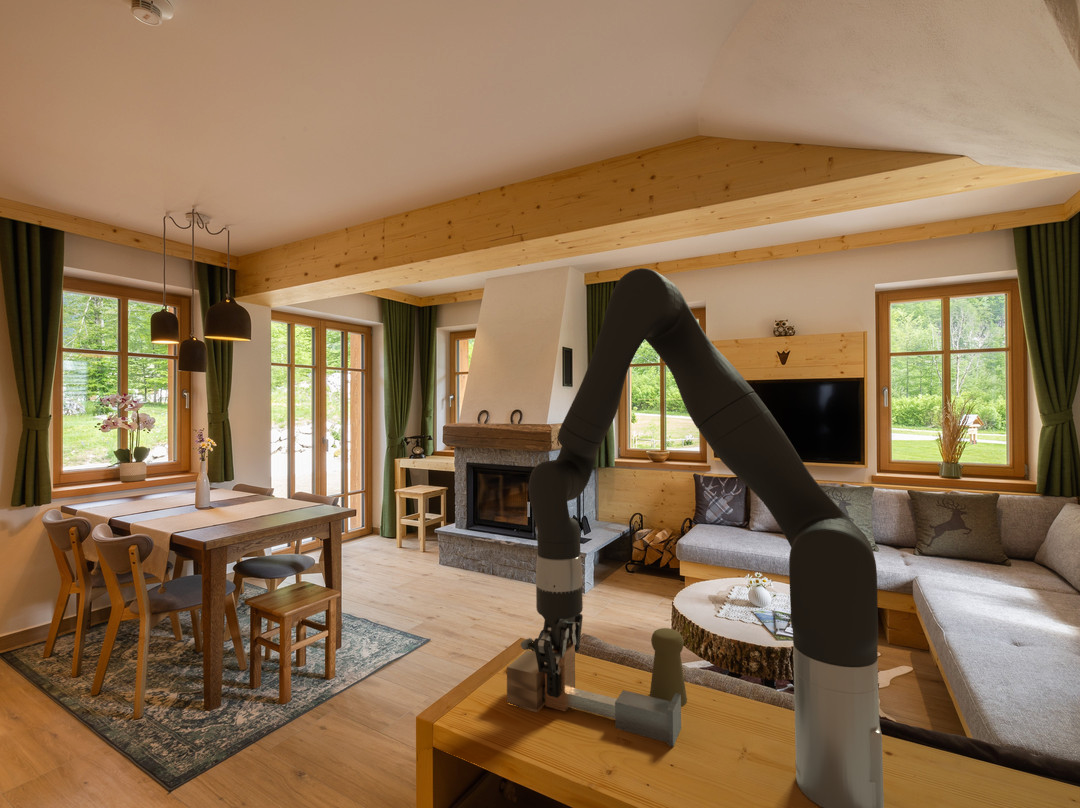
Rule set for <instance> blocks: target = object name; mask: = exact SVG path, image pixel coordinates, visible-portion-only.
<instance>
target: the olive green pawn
mask: <svg viewBox="0 0 1080 808" xmlns="http://www.w3.org/2000/svg"><path fill="white" fill-rule="evenodd" d="M650 641H651V646H652V648H653V651H654V656H653V665H652V673H651V681H650V682H651V683H650V691H649V696H650V697H654V698H658V699H662V700H667V701H672V699H673V697H674V695H675V693H677V694H681V708H682V707H684V706H685V705H686V704H687V703H688V696H687V689H686V683H685V677H684V670H683V663H682V657H681V653H682V651H683V649H684V638H683V636H682V635H681V633H680V632H679V631H678V630H675V629H673V628H666V627H664V628H658V629H655V630H654V632H653V633H652V634H651V640H650Z"/></svg>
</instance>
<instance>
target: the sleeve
mask: <svg viewBox="0 0 1080 808" xmlns="http://www.w3.org/2000/svg"><path fill="white" fill-rule="evenodd" d="M618 695H619V696H618V697H617V698H616V699H617V700H616V701H615V719H614V721H615V723H614V724H615V727H614V728H615V729H617V730H621V731H624V732H627V733H632V734H635V735H638V736H639V735H640V736H642V737H645V738H649V739H654V740H656V741H659V742H664V743H667V746H669V747H673V748H674V747H675V744H676V741H677V739H678V737H679V734H680V732H681V730H682V707H681V694H677V693H675V695H674V697H673V699H672V701H667V700H662V699H658V698H654V697H650V695H646V694H642V693H637V692H632V691H629V690H624V689H623V690H622V691H621V693H620V694H618Z"/></svg>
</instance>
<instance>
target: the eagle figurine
mask: <svg viewBox="0 0 1080 808" xmlns="http://www.w3.org/2000/svg"><path fill="white" fill-rule="evenodd" d="M543 635H544V634H543V629H542V630H540V632H539V635H538V637H537V638H538V639H541V638H542V636H543ZM532 642H533V643H532ZM520 647H521V648H522V650H524V651H527V650H530V651H535V648H534V639H532V638H530V637H529V638H526V639H524V640H522V641H521V642H520Z"/></svg>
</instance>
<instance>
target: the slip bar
mask: <svg viewBox="0 0 1080 808" xmlns="http://www.w3.org/2000/svg"><path fill="white" fill-rule="evenodd" d="M553 651H555V652H559V651H560V649H555V648H553ZM554 660H555V665H556V658H555V657H554ZM560 673H561V695H560V696H559V697H558V698H556V697H552V696H549V695H548V694H547V674H546V673H545V684H544V685H543V686H542V690H543V700H545V704H544V706H545V707H548V708H551V709H555V710H559V711H563V712H566V711H567V709H569V708H573V709H577V710H581V711H584V712H588V713H591V714H596V715H598V716H602V717H606V718H610V719H614V720H615V701H616V700H617V698H616V697H611V696H607V695H604V694H599V693H595V692H591V691H588V690H583V689H579V688H576V651H575V644H573V645H572V644H570V643H568V644H566V652H565V653H564V657H563V658H562V659H561V672H560Z"/></svg>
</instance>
